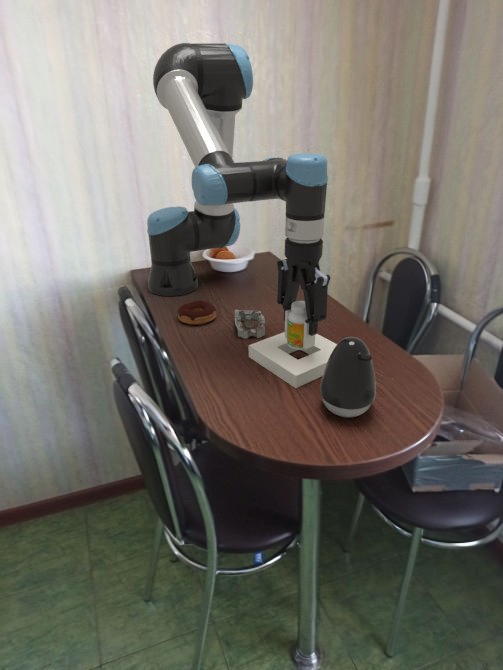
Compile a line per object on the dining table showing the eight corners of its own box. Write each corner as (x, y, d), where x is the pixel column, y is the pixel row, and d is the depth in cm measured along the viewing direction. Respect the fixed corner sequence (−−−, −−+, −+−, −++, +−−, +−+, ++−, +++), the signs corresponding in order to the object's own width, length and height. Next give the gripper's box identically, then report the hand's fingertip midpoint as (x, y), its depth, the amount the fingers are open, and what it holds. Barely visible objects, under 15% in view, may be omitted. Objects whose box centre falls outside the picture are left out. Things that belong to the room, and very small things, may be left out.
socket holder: (248, 356, 108) (248, 345, 107) (300, 336, 116) (301, 325, 115) (295, 388, 97) (296, 375, 95) (349, 363, 105) (350, 351, 104)
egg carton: (266, 339, 116) (266, 324, 114) (235, 340, 116) (235, 325, 114) (263, 320, 125) (263, 305, 123) (234, 320, 125) (234, 306, 123)
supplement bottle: (281, 344, 105) (282, 304, 100) (296, 336, 108) (298, 297, 103) (301, 353, 101) (303, 311, 97) (316, 344, 105) (318, 303, 100)
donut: (212, 309, 132) (211, 296, 130) (220, 324, 123) (219, 310, 121) (175, 314, 129) (174, 300, 127) (181, 329, 121) (180, 315, 119)
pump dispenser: (338, 432, 84) (345, 358, 77) (309, 400, 93) (313, 331, 86) (384, 417, 88) (395, 346, 81) (352, 388, 96) (360, 321, 89)
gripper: (260, 231, 98) (260, 331, 109) (323, 253, 85) (316, 364, 96) (287, 225, 102) (285, 322, 113) (352, 245, 89) (342, 352, 100)
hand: (299, 341), depth 104 cm, fingers closed on supplement bottle, 5 cm apart
